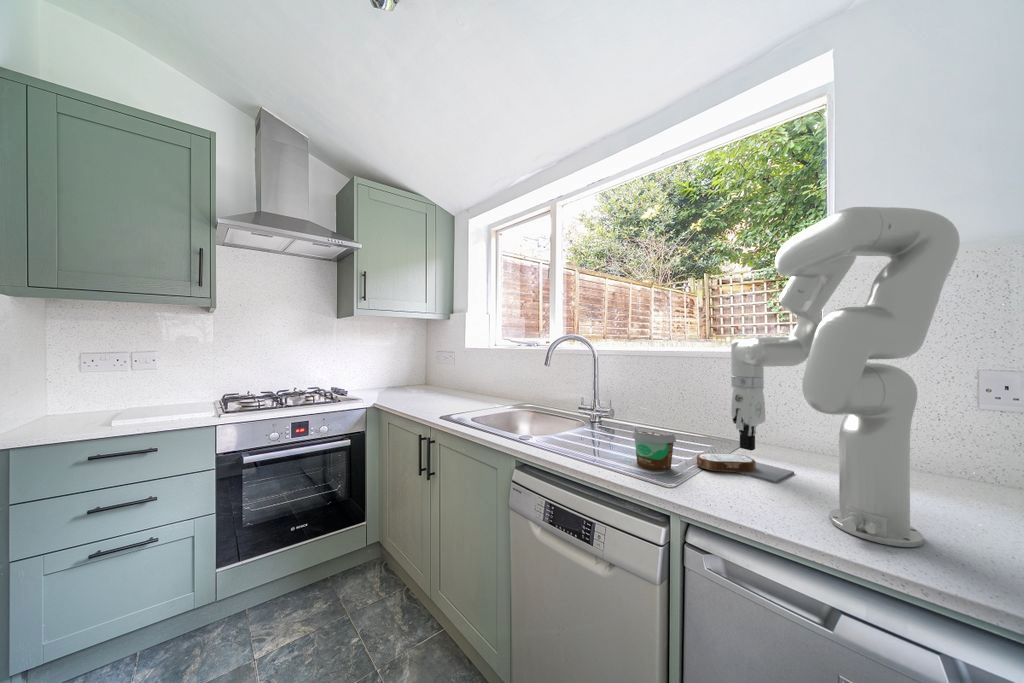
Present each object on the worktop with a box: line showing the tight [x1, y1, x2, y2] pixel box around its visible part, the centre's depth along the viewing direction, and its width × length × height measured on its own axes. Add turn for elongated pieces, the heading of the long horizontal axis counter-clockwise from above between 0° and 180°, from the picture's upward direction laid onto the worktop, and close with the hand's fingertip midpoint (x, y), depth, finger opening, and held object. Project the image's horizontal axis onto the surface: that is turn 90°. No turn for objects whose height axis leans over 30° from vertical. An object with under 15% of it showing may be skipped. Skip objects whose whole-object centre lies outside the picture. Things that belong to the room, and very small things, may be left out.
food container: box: [631, 427, 677, 472], centre depth 103 cm, size 12×6×10 cm, turn 47°
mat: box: [736, 461, 795, 484], centre depth 101 cm, size 12×16×1 cm
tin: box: [696, 452, 756, 473], centre depth 102 cm, size 15×3×8 cm
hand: (747, 448), depth 100 cm, fingers closed
